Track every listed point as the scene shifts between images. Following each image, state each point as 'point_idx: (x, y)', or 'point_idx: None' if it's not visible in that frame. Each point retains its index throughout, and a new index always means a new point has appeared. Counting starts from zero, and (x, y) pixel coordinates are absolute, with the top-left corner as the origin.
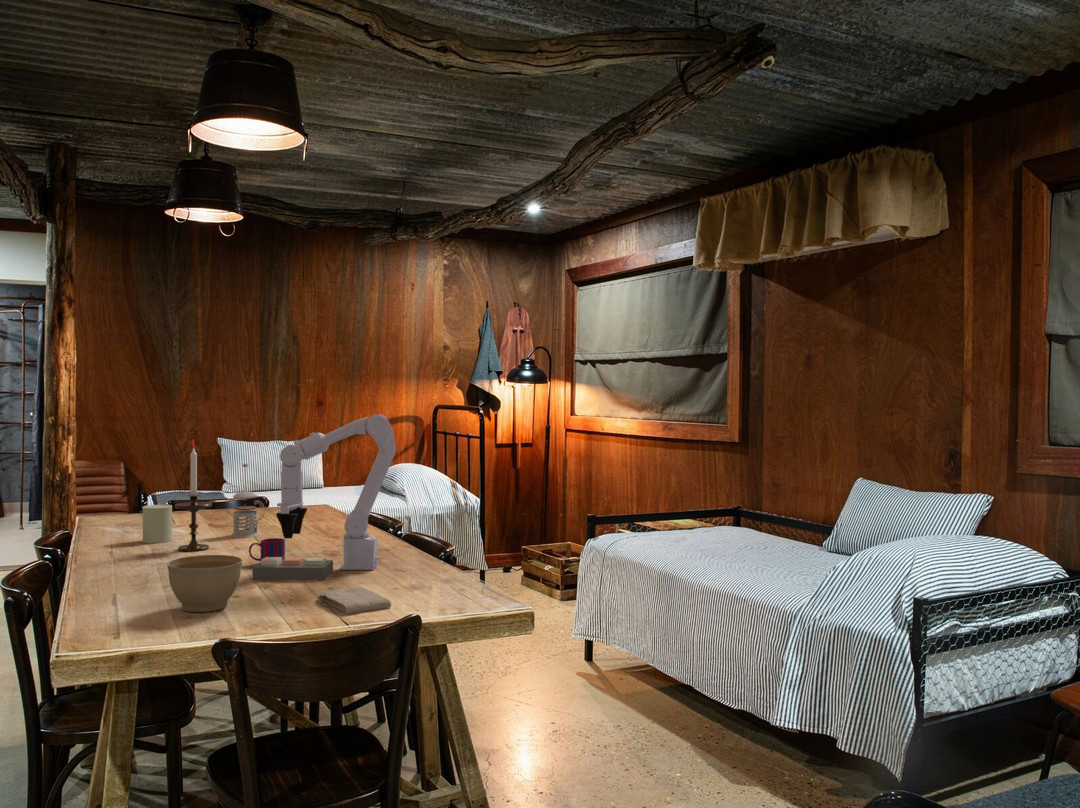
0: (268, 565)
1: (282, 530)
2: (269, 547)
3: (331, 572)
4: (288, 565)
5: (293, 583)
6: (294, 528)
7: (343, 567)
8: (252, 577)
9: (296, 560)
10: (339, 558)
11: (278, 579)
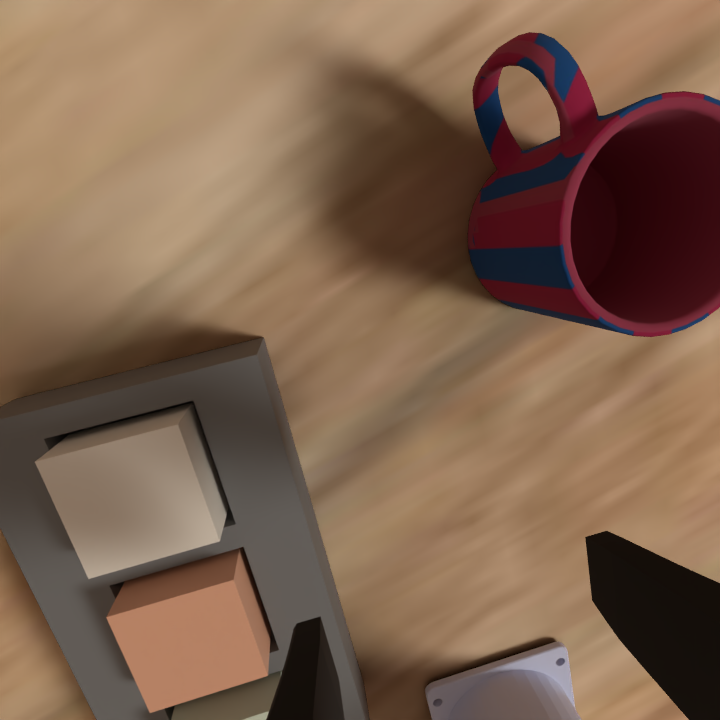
0: None
1: (272, 706)
2: (530, 250)
3: None
4: None
5: (40, 659)
6: (631, 601)
7: (447, 699)
8: (5, 405)
9: (142, 696)
10: (715, 525)
11: None
